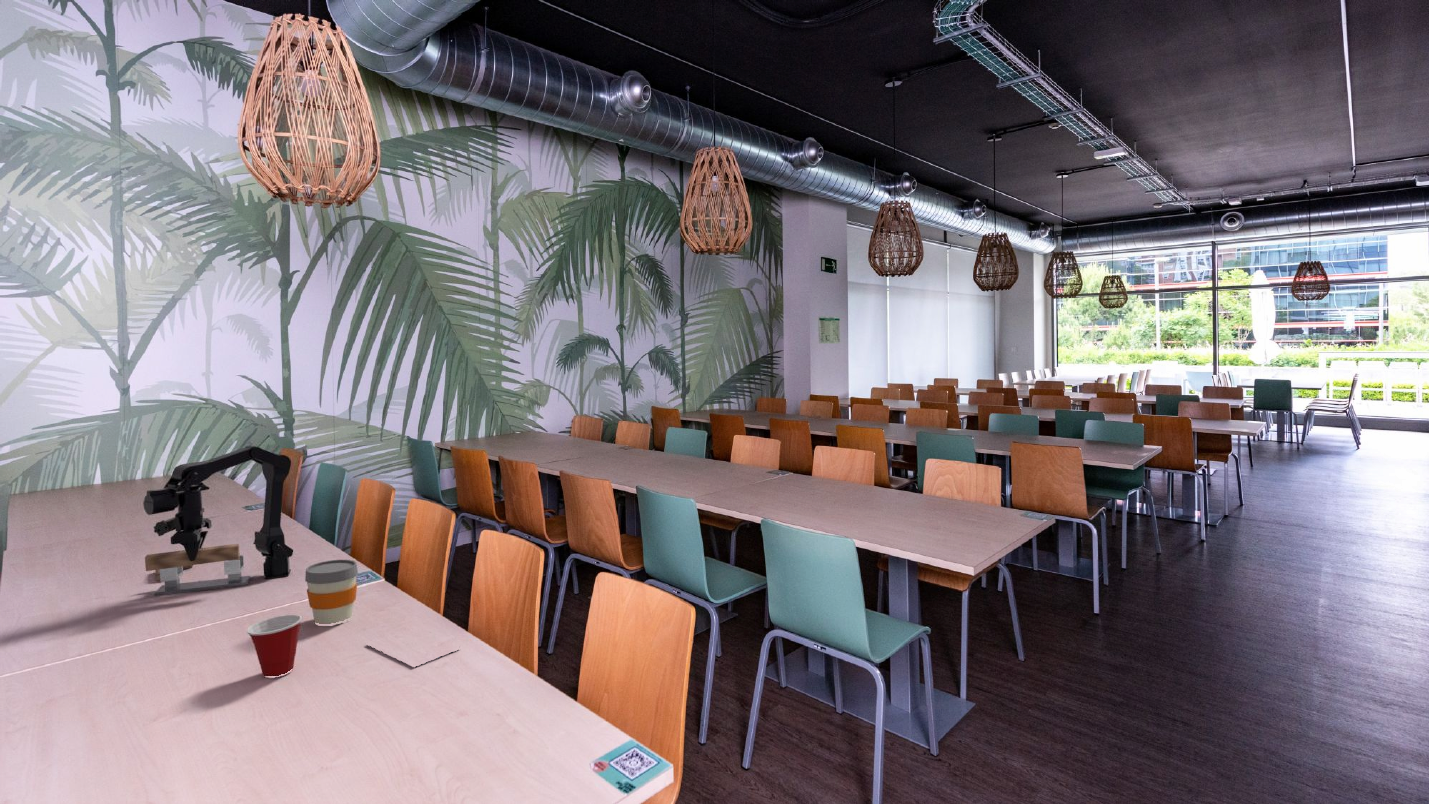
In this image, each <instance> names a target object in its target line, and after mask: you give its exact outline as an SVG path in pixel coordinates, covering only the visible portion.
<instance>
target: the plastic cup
mask: <svg viewBox="0 0 1429 804" xmlns="http://www.w3.org/2000/svg"><path fill="white" fill-rule="evenodd" d="M302 621H303V617H302V615H300V614H295V613H294V614H284V615H277V616H273V617H270V618H266V619H262V620H260V621H257V622H255V623H253V624H252V625H250V626H248V628H246V629H245V631H246V634H247V635H249V636H250V638H251V640H252V643H253V645H254V649H255V652H256V656H257V660H258V663H259V665H260V669H261V674H262V675H264V676H279V675H281V674H285V673H287V672H288V671H290V670H291V669H294V667H295V657H296V654H297V646H298V638H299V633H300V625H301V622H302ZM264 676H263V677H264Z"/></svg>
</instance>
